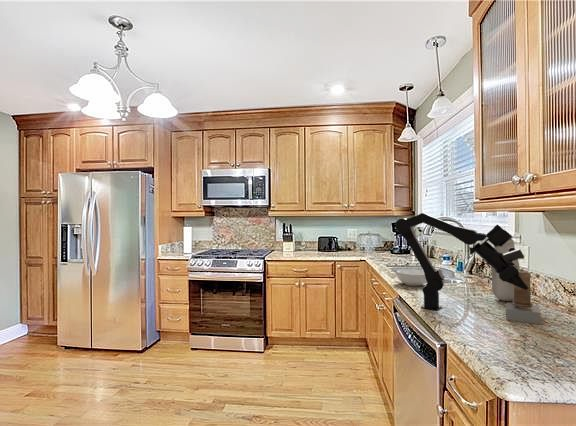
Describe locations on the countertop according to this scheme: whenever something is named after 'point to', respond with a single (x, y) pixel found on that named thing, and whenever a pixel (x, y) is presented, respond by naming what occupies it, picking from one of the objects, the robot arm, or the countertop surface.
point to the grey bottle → (498, 286)
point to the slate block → (523, 314)
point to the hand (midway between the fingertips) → (526, 287)
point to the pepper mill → (522, 291)
